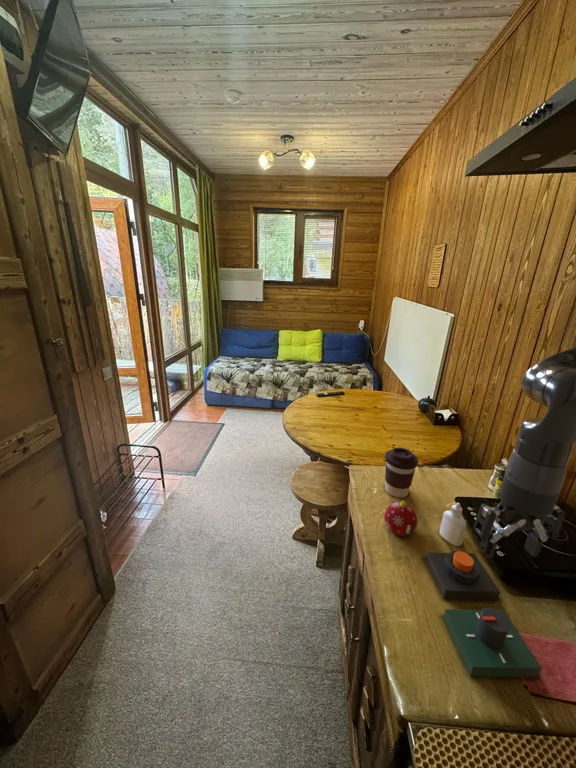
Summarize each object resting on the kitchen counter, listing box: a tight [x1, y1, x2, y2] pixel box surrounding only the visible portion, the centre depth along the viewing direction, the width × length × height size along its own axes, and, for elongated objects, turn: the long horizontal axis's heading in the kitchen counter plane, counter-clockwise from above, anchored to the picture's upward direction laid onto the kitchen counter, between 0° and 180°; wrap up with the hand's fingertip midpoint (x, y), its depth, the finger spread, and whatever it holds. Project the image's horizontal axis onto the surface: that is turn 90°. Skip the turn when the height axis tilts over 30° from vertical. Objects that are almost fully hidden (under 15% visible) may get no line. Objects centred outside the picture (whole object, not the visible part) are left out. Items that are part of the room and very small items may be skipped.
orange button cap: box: [453, 551, 474, 573], centre depth 70 cm, size 4×4×2 cm
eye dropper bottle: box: [438, 502, 467, 547], centre depth 82 cm, size 4×6×12 cm
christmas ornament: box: [384, 500, 418, 537], centre depth 85 cm, size 9×9×10 cm
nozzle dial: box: [476, 607, 509, 649], centre depth 57 cm, size 4×4×5 cm
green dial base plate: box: [443, 608, 542, 678], centre depth 58 cm, size 12×10×3 cm
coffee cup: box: [384, 447, 419, 499], centre depth 100 cm, size 10×10×15 cm
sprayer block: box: [424, 551, 501, 600], centre depth 71 cm, size 12×10×5 cm
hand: (508, 553), depth 57 cm, fingers open, 8 cm apart
